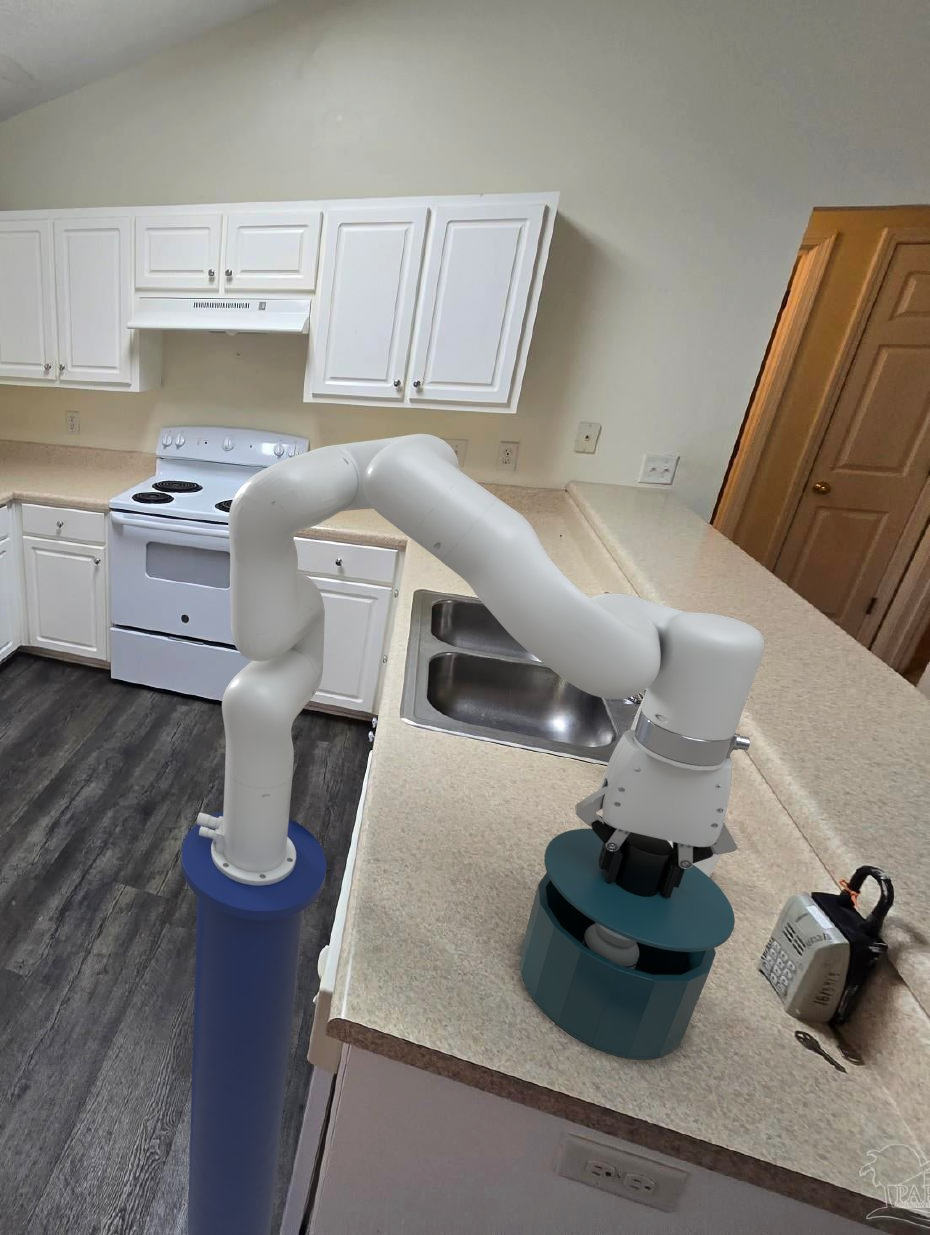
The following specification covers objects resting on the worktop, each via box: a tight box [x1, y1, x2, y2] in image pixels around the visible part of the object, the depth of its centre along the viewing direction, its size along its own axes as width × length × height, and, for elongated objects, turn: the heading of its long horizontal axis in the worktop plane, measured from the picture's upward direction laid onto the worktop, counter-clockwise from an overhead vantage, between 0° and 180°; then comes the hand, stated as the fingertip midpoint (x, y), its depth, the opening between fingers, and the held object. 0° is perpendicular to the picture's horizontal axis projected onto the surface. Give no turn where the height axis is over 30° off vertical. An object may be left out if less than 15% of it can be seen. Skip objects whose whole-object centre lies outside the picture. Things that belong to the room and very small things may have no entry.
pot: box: [519, 871, 717, 1061], centre depth 79 cm, size 17×17×12 cm
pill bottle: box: [582, 923, 639, 970], centre depth 79 cm, size 5×5×10 cm
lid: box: [543, 827, 736, 952], centre depth 74 cm, size 17×17×7 cm
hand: (635, 879), depth 75 cm, fingers closed on lid, 4 cm apart
